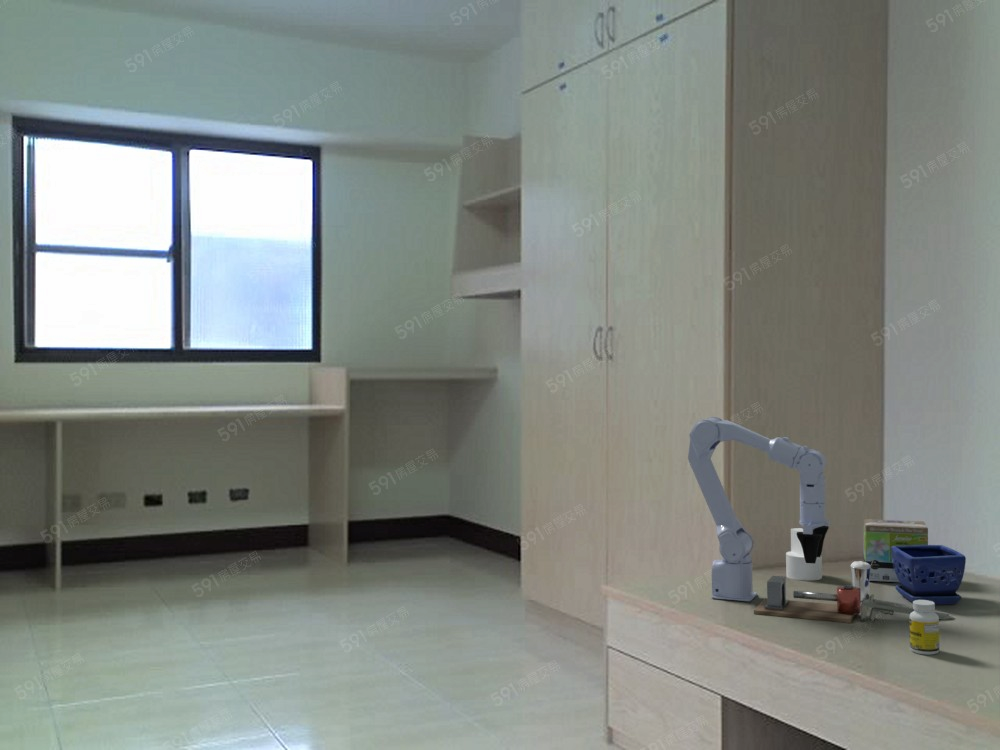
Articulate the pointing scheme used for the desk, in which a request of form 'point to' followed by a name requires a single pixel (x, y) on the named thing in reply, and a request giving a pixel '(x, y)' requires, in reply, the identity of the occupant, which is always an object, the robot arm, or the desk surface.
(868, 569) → the milkshake
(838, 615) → the board
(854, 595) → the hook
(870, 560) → the tea box
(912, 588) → the flower pot
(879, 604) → the caliper
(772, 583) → the slotted metal block
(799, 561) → the base with upright slab
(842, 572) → the desk surface
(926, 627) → the supplement bottle
